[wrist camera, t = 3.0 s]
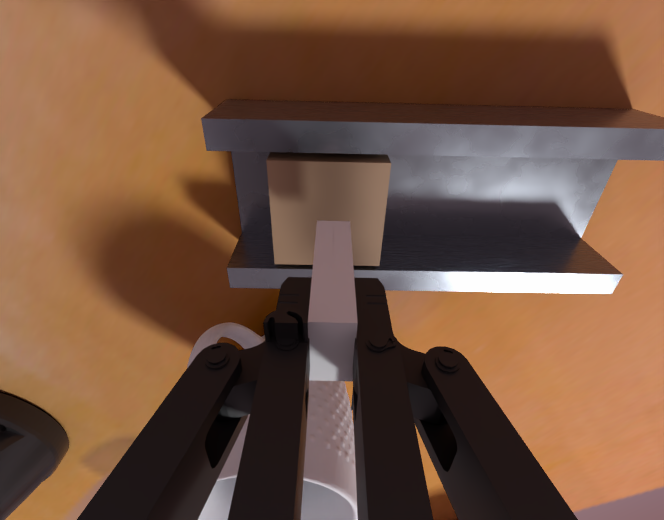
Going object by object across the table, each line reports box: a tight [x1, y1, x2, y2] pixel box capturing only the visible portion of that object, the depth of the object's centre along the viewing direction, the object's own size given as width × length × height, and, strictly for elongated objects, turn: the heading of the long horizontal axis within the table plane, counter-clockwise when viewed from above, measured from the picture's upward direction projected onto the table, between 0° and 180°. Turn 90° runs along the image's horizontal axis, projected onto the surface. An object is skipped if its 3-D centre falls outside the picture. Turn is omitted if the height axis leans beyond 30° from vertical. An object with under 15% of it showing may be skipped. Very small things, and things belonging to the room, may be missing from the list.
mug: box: [187, 322, 358, 520], centre depth 26 cm, size 15×11×13 cm
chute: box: [201, 99, 664, 294], centre depth 22 cm, size 24×10×5 cm, turn 89°
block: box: [266, 152, 391, 266], centre depth 21 cm, size 6×6×4 cm
